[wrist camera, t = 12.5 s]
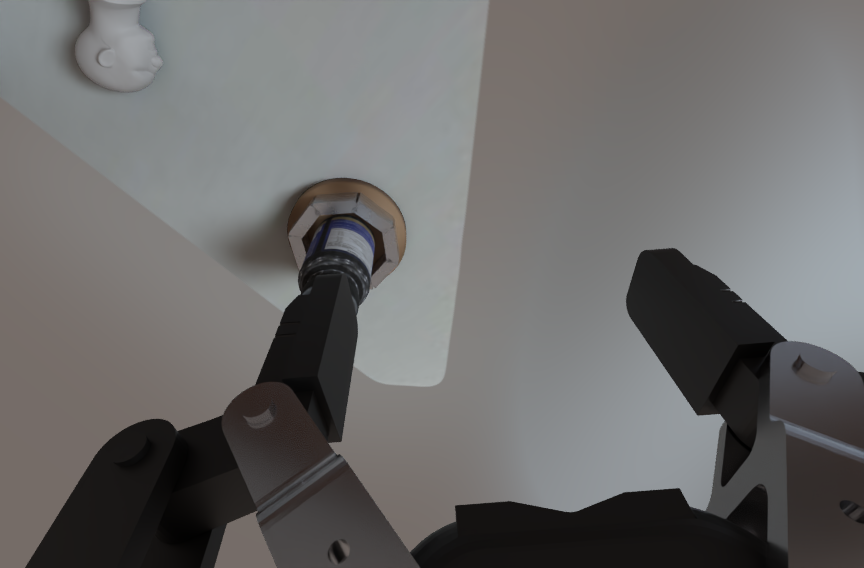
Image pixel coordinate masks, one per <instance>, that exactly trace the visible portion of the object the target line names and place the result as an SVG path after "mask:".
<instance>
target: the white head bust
mask: <svg viewBox="0 0 864 568" xmlns="http://www.w3.org/2000/svg"><path fill="white" fill-rule="evenodd" d="M145 2H146V0H88V3H89V7H90V24H89V26H88V27H87V28H86V29H85V30H84V31H83V32H82V33H81V34H80V35H79V37H78V39H77V41H76V44H75V57H76V60H77V63H78V65H79V67H80V69H81V70H82V72H83V73H84V74H85V75H86V76H87V77H88V78H89V79H91V80H92V81H93V82H95V83H96V84H98V85H100V86H102V87H104V88H107V89H110V90H114V91H118V92H135V91H139V90H142V89H144V88H146V87H148V86H149V85H150V84H151V83H152V82H153V80H154V78H155V74H156V73H157V72H158V70H159V69H160V68H161V67H162V65H163V60H162V58H161V57H160V56H159V55H158V51H157V49H156V48H155V44H154V42H155V37H154V35H153V34H152V33H151V32H150V31H149V30H147V29H146V28H144V27H143V26H141V25H140V24H139V16H140V7H141V5H142V4H143V3H145Z"/></svg>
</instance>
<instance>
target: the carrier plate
mask: <svg viewBox="0 0 864 568" xmlns="http://www.w3.org/2000/svg"><path fill="white" fill-rule="evenodd" d="M336 215H350V216H354V217H357V218H359V219H360V220H362V221H363V222H365V223H366V224H367V225H368V226H369V228H370V229H371V231H372V233H373V235H374V238H375V250H374V258H373V266H372V273H371V281H370V289H373V287H374V288H376V287H377V286H378V285H379V284H380V283H381V282H382V281H383V280H384V279H385V278H386V277H387V276H388V275H389V274H390V273H391V272H393V271H394V270H395V268H396V267H397V266H398V265H399V263H400V261H401V260H402V257H403V255H404V252H405V248H406V226H405V221H404V218H403V215H402V213H401V211H400V209H399V208H398V206H397V205H396V203H395V202H394V201H393V200H392V199H391V198H390V197H389V196H388V195H387V194H386V193H385V192H384V191H382V190H381V189H379V188H378V187H376V186H374V185H372V184H370V183H367V182H364V181H361V180H357V179H351V178H335V179H329V180H325V181H322V182H320V183H318V184H315V185H314V186H312V187H310V188H309V189H308V190H307V191H305V192H304V193H303V194H302V196H301V197H300V198H299V199H298V201H297V203H296V204H295V206H294V208H293V210H292V212H291V214H290V217H289V221H288V228H287V232H288V240H289V244H290V246H291V249H292V251H293V253H294V256H295V259H296V262H297V265H298V269H299V270H300V269H301V267H302V264H303V262H304V259H305V257H306V254H307V252H308V249H309V247H310V244H311V242H312V239H313V237H314V234H315V232H316V230H317V228H318V226H319V225H320V224H321V223H322V222H323V221H324V220H325V219H327V218H330V217H332V216H336Z"/></svg>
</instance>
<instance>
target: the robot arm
mask: <svg viewBox="0 0 864 568" xmlns="http://www.w3.org/2000/svg"><path fill="white" fill-rule="evenodd" d="M626 306H627V310H628V314H629V316H630V317H631V319H632V321H633V322H634V324H635V325H636V327H637V328H638V329H639V331H640V332H641V334H642V335H643V337H644V338H645V340H646V341H647V343H648V344H649V345H650V347H651V348H652V350H653V351H654V353H655V354H656V356H657V357H658V359H659V360H660V362H661V363H662V364H663V366H664V367H665V369H666V370H667V372H668V373H669V375H670V376H671V378H672V379H673V380H674V382H675V383H676V385H677V386H678V388H679V389H680V391H681V392H682V393H683V395H684V396H685V398H686V399H687V401H688V402H689V404H690V405H691V407H692V408H693V410H694V411H695V413H696V414H697V415H711V414H721V416H722V417H723V419H724V420H725V421H724V423H723V424H722V426H721V428H720V431H719V439H718V447H717V455H716V462H715V471H714V479H713V487H712V494H711V498H710V501H709V504H708V507H707V509H706V511H702V510H699V509H696V508H692V507H689V505H688V503H687V501H686V500H685V498H684V496H683V494H682V492H681V490H680V489H679V488H676V489H664V490H650V491H637V492H625V493H622V494H619V495H617V496H614V497H612V498H609V499H607V500H605V501H602V502H599V503H597V504H594V505H592V506H589V507H587V508H584V509H582V510H580V511H577V512H563V511H558V510H553V509H548V508H542V507H537V506H532V505H527V504H522V503H516V502H511V501H508V502H495V503H483V504H470V505H457V506H455V511H456V522H454V523H451V524H449V525H446V526H444V527H442V528H441V529H439V530H437V531H435V532H433V533H432V534H430V535H429V536H428V537H426V538H425V539H424V540H423V541H421V542H420V543H419V544H418V545H417V546H416V547H415V548H414V549H413V550H412V551H411V552H409V551H408V549H407V548H406V546H405V545H404V544H403V542H402V541H401V539H400V538H399V536H398V535H397V533H396V532H395V531H394V529H393V528H392V526H391V525H390V523H389V522H388V521H387V519H386V518H385V516H384V515H383V513H382V512H381V510H380V509H379V508H378V506H377V505H376V503H375V502H374V500H373V499H372V497H371V496H370V495H369V493H368V492H367V490H366V489H365V487H364V486H363V484H362V483H361V482H360V480H359V479H358V477H357V476H356V474H355V473H354V472H353V470H352V469H351V467H350V466H349V464H348V463H347V462H346V460H345V459H344V458H343V457H342V456H341V455H340V454H339V455H337V454H336V453H335V452H334V451H333V449H332V448H331V447H330V445H329V444H328V443H332V442H341V441H342V434H343V427H344V421H345V415H346V407H347V402H348V395H349V388H350V382H351V376H352V370H353V363H354V357H355V350H356V344H357V337H358V324H357V317H356V312H355V308H354V304H353V300H352V295H351V291H350V287H349V283H348V279H347V276H346V274H345V273H340V274H327V275H317V276H316V277H315V280H314V283H313V286H312V289H311V292H310V294H307V295H298V296H297V297H296V298H295V299H294V300H293V301H292V302H291V303H290V304H289V306H288V307H287V308H286V309H285V312H284V314H283V317H282V319H281V322H280V326H279V327H278V329H277V332H276V334H275V338H274V339H273V342H272V344H271V347H270V349H269V352H268V354H267V357H266V359H265V362H264V364H263V367H262V369H261V372H260V374H259V377H258V379H257V382H256V384H255V385H254V386H252V387H250V388H248V389H246V390H245V391H243V392H241V393H240V394H239V395H238V396H236V397H235V398H234V399H233V400H232V401H231V403H230V404H229V405H228V407H227V408H226V410H225V412H224V414H223V415H222V416H219V417H217V418H214V419H212V420H209V421H206V422H203V423H200V424H197V425H194V426H192V427H188V428H186V429H183V430H180V431H177V430H176V429H175V428H174V426H173V425H172V424H171V423H170V422H168V421H166V420H163V419H150V420H145V421H142V422H138V423H136V424H134V425H131V426H129V427H127V428H126V429H124V430H122V431H121V432H119V433H118V434H116V435H115V436H114V437H112V438H111V439H110V440H109V441H108V442H107V443H106V444H105V445H104V446H103V447H102V448H101V449H100V450H99V451H98V453H97V454H96V455H95V457H94V458H93V460H92V461H91V463H90V465H89V466H88V468H87V469H86V471H85V473H84V474H83V476H82V477H81V479H80V481H79V482H78V484H77V485H76V487H75V489H74V490H73V492H72V493H71V495H70V497H69V499H68V500H67V501H66V503H65V505H64V506H63V508H62V509H61V511H60V513H59V514H58V516H57V517H56V519H55V521H54V522H53V524H52V525H51V527H50V529H49V530H48V532H47V534H46V535H45V537H44V538H43V540H42V542H41V543H40V545H39V546H38V548H37V550H36V551H35V553H34V555H33V556H32V557H31V559H30V561H29V563H28V564H27V566H26V567H25V568H214V566H215V562H216V559H217V555H218V552H219V549H220V545H221V542H222V538H223V535H224V531H225V528H226V525H227V523H229V522H231V521H234V520H236V519H238V518H241V517H243V516H245V515H248V514H250V513H253V512H255V511H258V513H257V514H256V517H257V521H258V524H259V526H260V529H261V531H262V534H263V536H264V538H265V541H266V543H267V545H268V548H269V550H270V552H271V554H272V557H273V559H274V562H275V564H276V566H277V568H864V373H863V372H858V371H857V370H856V369H855V368H854V367H853V366H852V365H851V364H850V363H848V362H847V361H846V360H844V359H843V358H841V357H839V356H838V355H836V354H834V353H832V352H830V351H828V350H826V349H823V348H821V347H818V346H815V345H812V344H808V343H803V342H796V341H787V340H786V339H785V338H784V337H783V336H782V335H781V334H779V333H778V332H777V331H776V330H775V329H774V328H773V327H772V326H771V325H770V324H769V323H767V322H766V321H765V320H764V319H763V318H762V317H761V316H760V315H759V314H757V313H756V312H755V311H754V310H753V309H752V308H751V307H750V306H749V305H748V304H747V303H746V302H742V299H741V298H740V297H739V296H738V295H737V294H736V293H734V292H733V291H730V288H729V287H728V286H727V285H726V284H725V283H724V282H722V281H721V280H720V279H719V278H718V277H717V276H715V275H714V274H712V273H710V272H708V271H706V270H705V269H703V268H701V267H699V266H697V265H693V264H692V263H691V262H690V261H689V260H688V259H687V258H686V257H685V256H684V255H683V254H682V253H681V252H680V251H678V250H677V249H675V248H669V249H656V250H644V251H643V252H641V253H640V255H639V257H638V260H637V263H636V266H635V270H634V273H633V276H632V280H631V283H630V287H629V290H628V293H627V298H626Z"/></svg>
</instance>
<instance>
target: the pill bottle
mask: <svg viewBox="0 0 864 568" xmlns="http://www.w3.org/2000/svg"><path fill="white" fill-rule="evenodd" d="M374 250H375V238H374V235H373V233H372V231H371V229H370V228H369V226H368V225H367V224H366V223H365V222H363V221H362V220H360V219H359V218H357V217H354V216H350V215H336V216H332V217H330V218H327V219H325V220H324V221H323V222H322V223H321V224H320V225H319V226H318V228H317V230H316V232H315V234H314V237H313V239H312V242H311V244H310V247H309V249H308V252H307V254H306V257H305V259H304V262H303V264H302V267H301V269H300V271H299V276H298V283H299V288H300V291H301V295H307V294H310V292H311V289H312V286H313V283H314V280H315V277H316V276H317V275H327V274H340V273H345V274H346V276H347V279H348V283H349V287H350V291H351V295H352V300H353V304H354V308H355V312H356V315H357V313H358V308H359V305H361V304H362V302H363V301H364V300H365V299H366V297H367V295H368V293H369V289H370V281H371V273H372V266H373V258H374Z"/></svg>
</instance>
